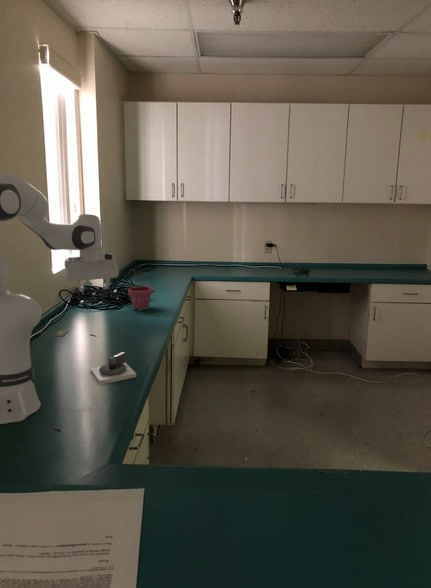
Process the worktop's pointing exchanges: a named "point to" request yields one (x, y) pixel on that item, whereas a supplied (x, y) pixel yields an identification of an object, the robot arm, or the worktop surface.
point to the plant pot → (140, 296)
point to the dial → (114, 365)
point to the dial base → (112, 378)
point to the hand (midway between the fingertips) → (93, 290)
